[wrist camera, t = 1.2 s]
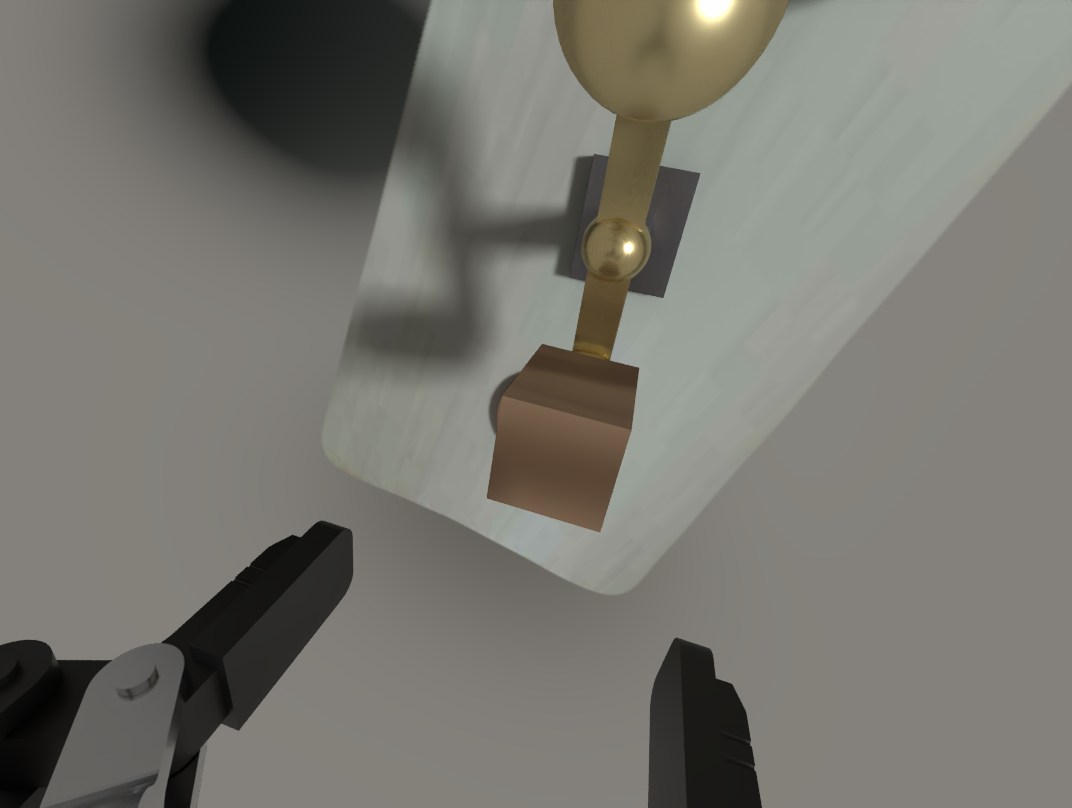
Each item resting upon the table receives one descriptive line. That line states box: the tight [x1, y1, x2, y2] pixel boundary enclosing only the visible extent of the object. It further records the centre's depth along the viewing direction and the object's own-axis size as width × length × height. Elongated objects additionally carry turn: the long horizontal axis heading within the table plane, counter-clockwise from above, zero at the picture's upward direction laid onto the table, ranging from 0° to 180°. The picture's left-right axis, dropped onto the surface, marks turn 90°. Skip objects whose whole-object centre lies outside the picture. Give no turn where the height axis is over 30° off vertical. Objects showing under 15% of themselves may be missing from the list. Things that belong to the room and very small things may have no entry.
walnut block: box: [487, 344, 639, 532], centre depth 19 cm, size 4×4×6 cm
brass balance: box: [553, 0, 789, 361], centre depth 21 cm, size 19×6×15 cm, turn 170°
